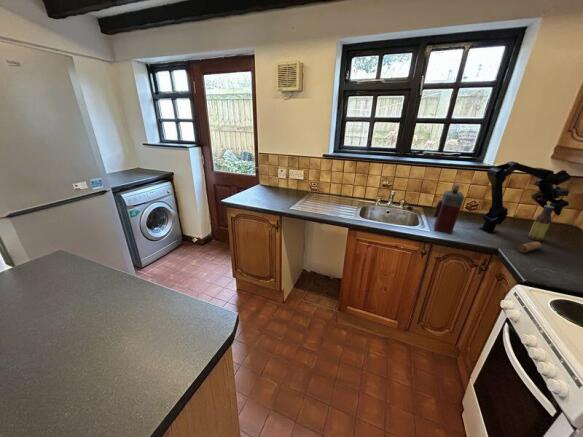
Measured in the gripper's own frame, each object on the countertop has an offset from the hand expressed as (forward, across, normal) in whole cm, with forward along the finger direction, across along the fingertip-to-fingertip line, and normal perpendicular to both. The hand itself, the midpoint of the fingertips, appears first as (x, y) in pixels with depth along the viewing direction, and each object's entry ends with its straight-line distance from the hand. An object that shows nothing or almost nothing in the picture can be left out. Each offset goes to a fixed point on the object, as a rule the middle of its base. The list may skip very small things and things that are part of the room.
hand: (552, 212), depth 140 cm
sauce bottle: (+8, -8, +15) cm, 19 cm away
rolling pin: (+1, -24, +26) cm, 36 cm away
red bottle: (-19, -9, +58) cm, 62 cm away
